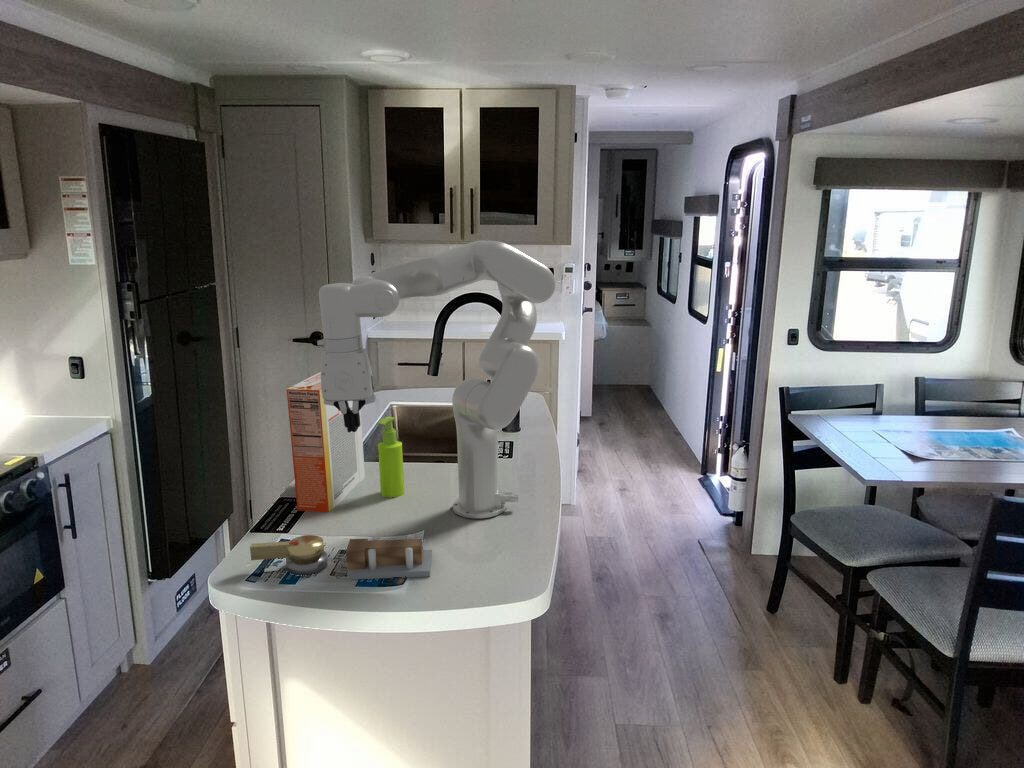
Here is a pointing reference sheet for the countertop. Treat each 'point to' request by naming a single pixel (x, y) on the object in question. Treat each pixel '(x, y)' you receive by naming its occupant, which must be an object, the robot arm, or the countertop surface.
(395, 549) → the tan wooden bar
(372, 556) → the rack
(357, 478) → the orange cereal box
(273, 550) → the gold lever handle
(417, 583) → the countertop surface
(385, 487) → the soap dispenser
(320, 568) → the base
